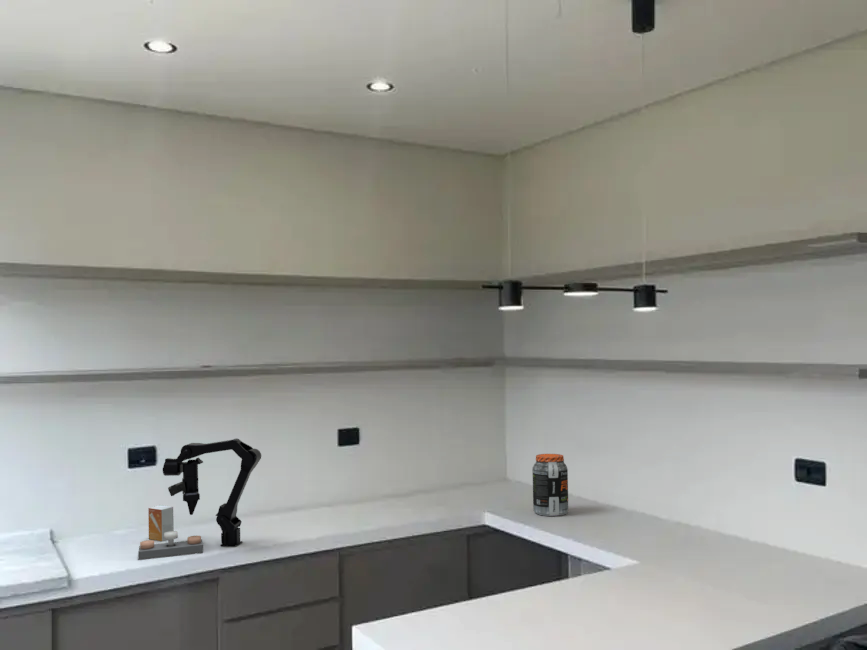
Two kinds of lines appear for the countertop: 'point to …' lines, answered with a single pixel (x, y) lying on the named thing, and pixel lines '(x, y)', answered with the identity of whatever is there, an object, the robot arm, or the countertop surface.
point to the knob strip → (170, 550)
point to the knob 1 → (147, 544)
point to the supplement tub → (550, 485)
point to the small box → (160, 521)
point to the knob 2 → (194, 539)
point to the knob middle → (170, 537)
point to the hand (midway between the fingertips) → (191, 514)
